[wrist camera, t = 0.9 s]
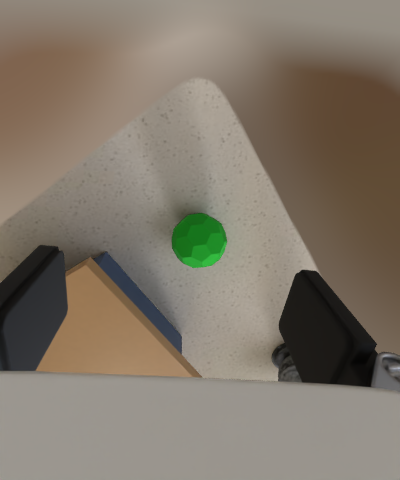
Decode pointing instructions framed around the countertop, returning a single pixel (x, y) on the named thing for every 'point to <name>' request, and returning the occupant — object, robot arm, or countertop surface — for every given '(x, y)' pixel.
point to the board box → (113, 327)
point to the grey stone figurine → (285, 365)
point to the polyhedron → (199, 240)
